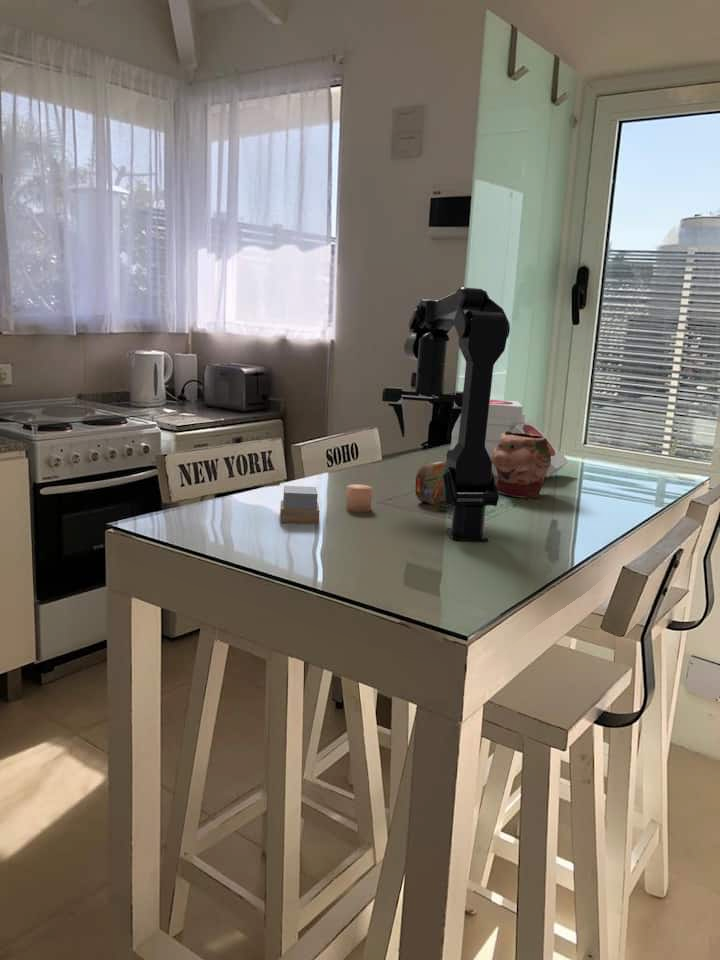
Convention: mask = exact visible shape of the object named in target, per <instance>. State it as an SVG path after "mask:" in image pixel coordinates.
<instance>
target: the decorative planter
mask: <svg viewBox="0 0 720 960" xmlns="http://www.w3.org/2000/svg"><path fill="white" fill-rule="evenodd" d="M545 437H546V436H545ZM545 437H543V436H539V435H531V434H523V433H512V432H509V431H507V432H505V433H503V434H501V436H500V442H499V444H498V445H497V446H496V447H495V448H494V449H493V451H492V455H491V457H492V462H493V464H494V466H495V468H496V470H497V476H496V480H495V483H496V487H497V491H498V494H502V495H507V496H510V497H517V498H525V499H527V498H528V499H531V498H536V497H538V496H539V495H540V493H541V490H542V488H543V485H544V481H545V477H546V473H547V471H548V469H549V467H550V463H551V454H550V450H549V448H548V444H547V439H548V438H547V437H546V438H547V439H546V438H545Z"/></svg>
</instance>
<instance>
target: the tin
mask: <svg viewBox="0 0 720 960" xmlns="http://www.w3.org/2000/svg"><path fill="white" fill-rule="evenodd" d="M445 467H446V460H439V461H436V462H432V463H427V464H424V465H422V466H421V467H420V468H419V469H418V471H417V473H416V476H415V495H416V498H417V499H418V501H419V502H421V503H426V504H430V505H434V504H438V503H441V502H444V496H443V479H442V475H443V472H444V469H445Z"/></svg>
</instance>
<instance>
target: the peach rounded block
mask: <svg viewBox="0 0 720 960" xmlns="http://www.w3.org/2000/svg"><path fill="white" fill-rule="evenodd" d="M372 496H373V487H372V486H370V485H367V484H359V483H358V484H355V483H354V484H349V485H347V486H346V497H345V499H346V500H345V509H346V510H347V511H350V512H355V513H365V512H366V513H367V512H371V509H372Z"/></svg>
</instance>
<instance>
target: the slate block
mask: <svg viewBox="0 0 720 960" xmlns="http://www.w3.org/2000/svg"><path fill="white" fill-rule="evenodd" d="M282 499H283V505H284V509H302V510H317V502H318V489H317V486H306V485H305V486H304V485H303V486H301V485H283V497H282Z"/></svg>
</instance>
